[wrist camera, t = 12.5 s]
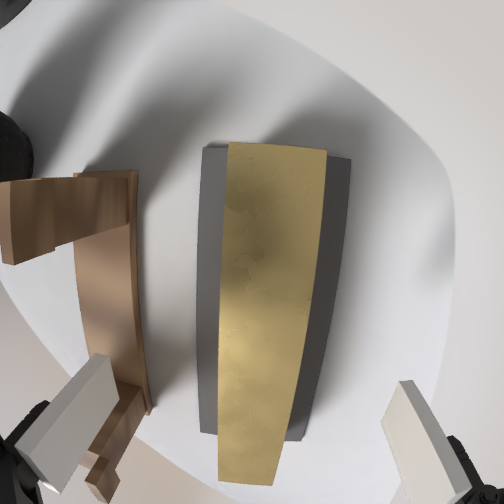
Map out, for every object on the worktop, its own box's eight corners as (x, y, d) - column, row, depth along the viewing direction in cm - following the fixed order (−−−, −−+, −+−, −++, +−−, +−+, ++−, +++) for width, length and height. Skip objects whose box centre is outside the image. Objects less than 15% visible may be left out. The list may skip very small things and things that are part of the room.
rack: (75, 173, 18) (-51, 178, 7) (146, 170, 17) (11, 162, 6) (100, 394, 22) (41, 473, 11) (158, 410, 22) (111, 507, 11)
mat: (204, 148, 17) (202, 147, 16) (349, 159, 16) (351, 159, 16) (201, 429, 22) (200, 432, 22) (300, 438, 21) (301, 441, 21)
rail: (242, 156, 16) (228, 142, 11) (309, 162, 16) (326, 150, 11) (227, 432, 21) (218, 480, 16) (273, 437, 21) (272, 485, 16)
